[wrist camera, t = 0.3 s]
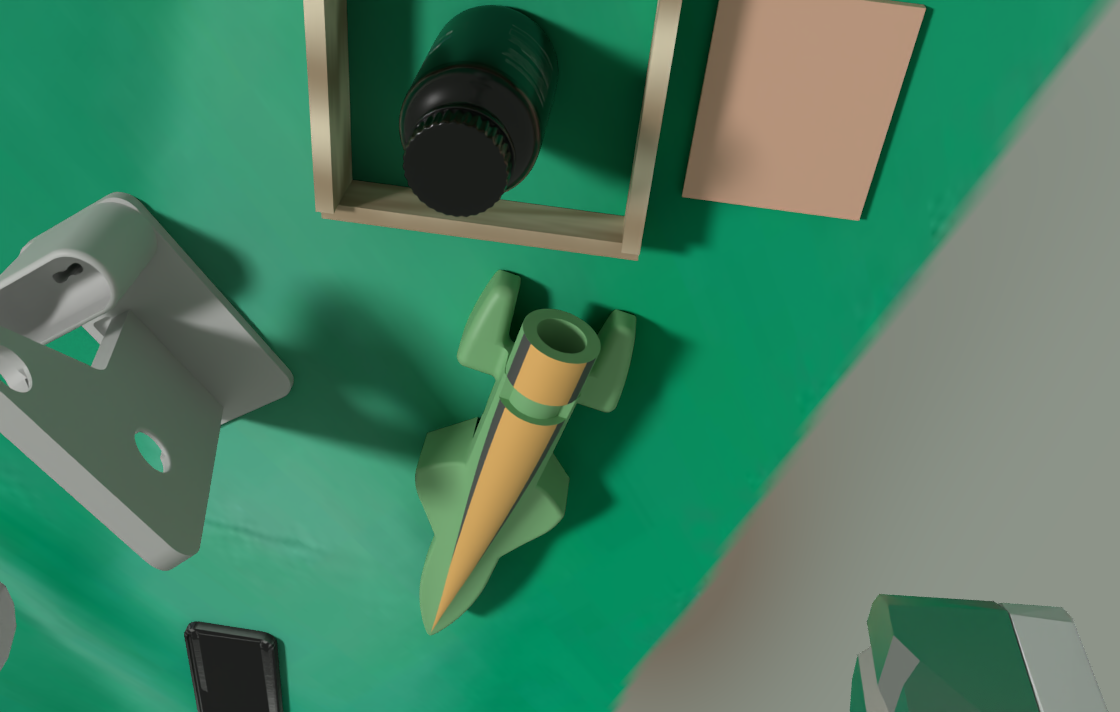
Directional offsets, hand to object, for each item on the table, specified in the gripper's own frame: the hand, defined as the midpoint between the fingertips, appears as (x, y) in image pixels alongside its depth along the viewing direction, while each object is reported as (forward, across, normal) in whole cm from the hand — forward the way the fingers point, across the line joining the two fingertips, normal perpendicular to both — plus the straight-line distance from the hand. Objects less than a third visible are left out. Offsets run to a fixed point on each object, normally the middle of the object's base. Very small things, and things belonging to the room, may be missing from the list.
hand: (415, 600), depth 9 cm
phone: (+48, +32, +71) cm, 91 cm away
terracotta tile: (+46, -9, +15) cm, 50 cm away
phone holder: (+47, +30, +31) cm, 63 cm away
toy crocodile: (+47, +8, +42) cm, 64 cm away
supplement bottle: (+47, +7, +13) cm, 49 cm away
